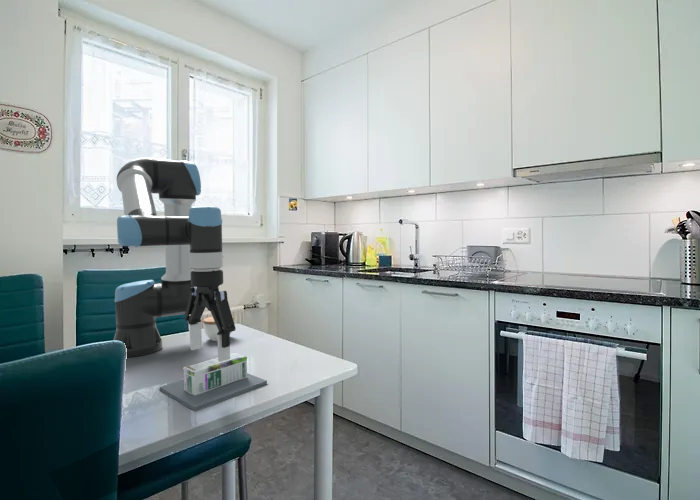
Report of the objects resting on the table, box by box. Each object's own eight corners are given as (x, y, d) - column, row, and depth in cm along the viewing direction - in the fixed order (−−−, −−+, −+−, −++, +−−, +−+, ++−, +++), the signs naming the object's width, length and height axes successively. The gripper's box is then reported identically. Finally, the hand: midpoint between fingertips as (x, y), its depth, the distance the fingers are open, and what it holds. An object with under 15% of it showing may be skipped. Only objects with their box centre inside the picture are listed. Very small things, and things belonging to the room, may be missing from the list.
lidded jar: (240, 336, 142) (239, 312, 142) (219, 344, 133) (218, 317, 132) (219, 334, 147) (218, 310, 147) (197, 341, 137) (196, 315, 137)
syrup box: (248, 377, 98) (194, 396, 86) (235, 372, 101) (182, 390, 90) (247, 356, 97) (194, 372, 86) (234, 352, 101) (181, 367, 90)
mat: (159, 390, 93) (159, 386, 93) (228, 368, 107) (228, 365, 107) (194, 411, 81) (194, 407, 81) (266, 383, 95) (266, 380, 95)
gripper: (249, 271, 87) (251, 361, 88) (196, 265, 103) (199, 341, 104) (219, 274, 81) (222, 370, 83) (169, 267, 98) (172, 348, 99)
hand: (209, 354), depth 94 cm, fingers open, 13 cm apart
